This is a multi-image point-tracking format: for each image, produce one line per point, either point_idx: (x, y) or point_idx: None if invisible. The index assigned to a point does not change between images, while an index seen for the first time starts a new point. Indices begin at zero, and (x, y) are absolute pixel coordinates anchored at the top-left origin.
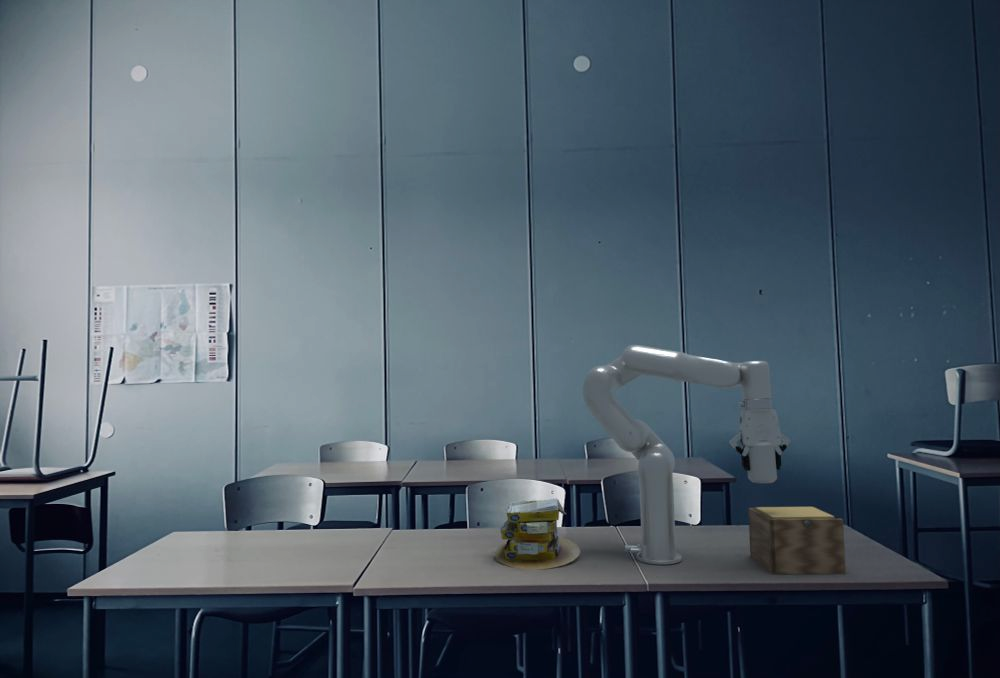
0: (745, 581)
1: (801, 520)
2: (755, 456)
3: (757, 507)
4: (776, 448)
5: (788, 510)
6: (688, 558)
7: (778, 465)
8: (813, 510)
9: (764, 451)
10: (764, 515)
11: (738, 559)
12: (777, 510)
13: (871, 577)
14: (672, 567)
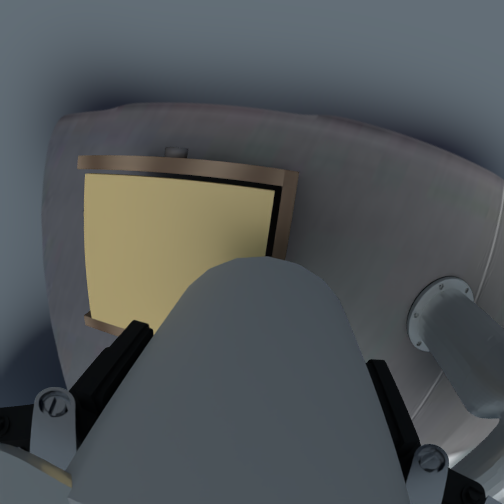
0: (370, 138)
1: (187, 159)
2: (376, 411)
3: None
4: (60, 450)
5: (168, 288)
6: (393, 315)
7: (131, 336)
8: (101, 270)
9: (275, 437)
10: (275, 255)
11: None
12: None
13: (119, 133)
14: (447, 261)
